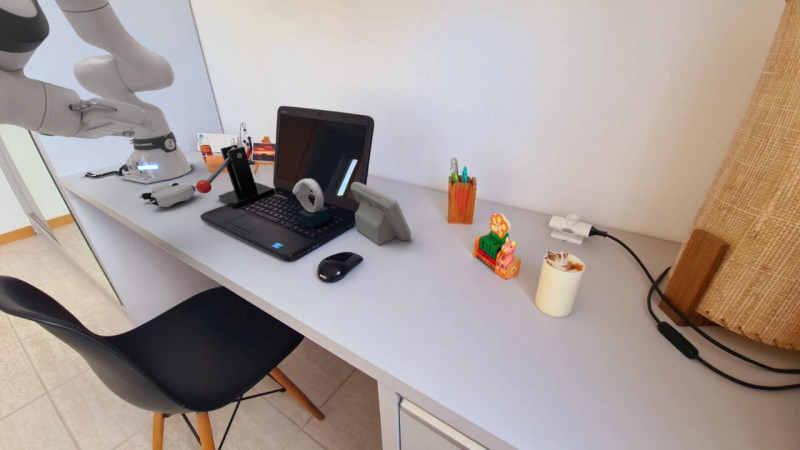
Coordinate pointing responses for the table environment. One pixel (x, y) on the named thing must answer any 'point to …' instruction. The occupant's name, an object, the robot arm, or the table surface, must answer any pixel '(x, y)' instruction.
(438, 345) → the table surface
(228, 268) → the table surface
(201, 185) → the switch lever
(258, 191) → the switch bracket
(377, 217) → the digital clock
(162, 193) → the robot toy
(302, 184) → the ring sculpture on base
